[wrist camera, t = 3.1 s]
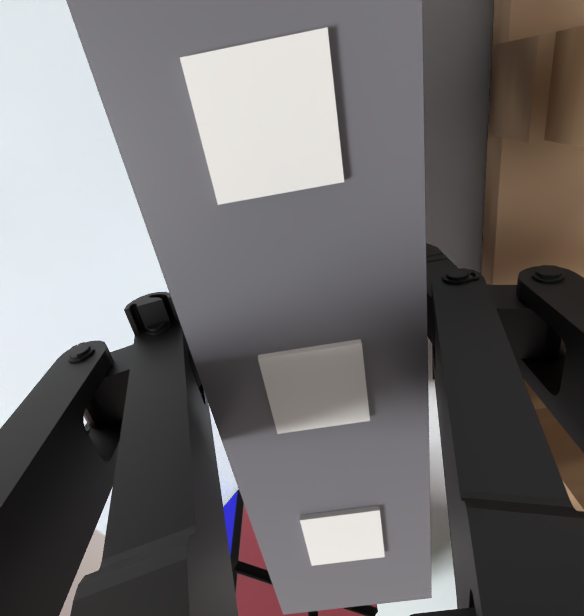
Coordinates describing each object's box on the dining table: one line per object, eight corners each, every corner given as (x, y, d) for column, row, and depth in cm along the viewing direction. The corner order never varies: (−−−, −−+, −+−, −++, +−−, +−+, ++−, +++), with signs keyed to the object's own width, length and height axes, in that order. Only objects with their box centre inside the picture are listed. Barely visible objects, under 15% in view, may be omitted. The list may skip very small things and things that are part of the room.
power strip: (181, -12, 14) (-13, -208, 5) (328, -44, 13) (421, -320, 4) (283, 409, 23) (283, 619, 14) (372, 397, 22) (432, 602, 13)
